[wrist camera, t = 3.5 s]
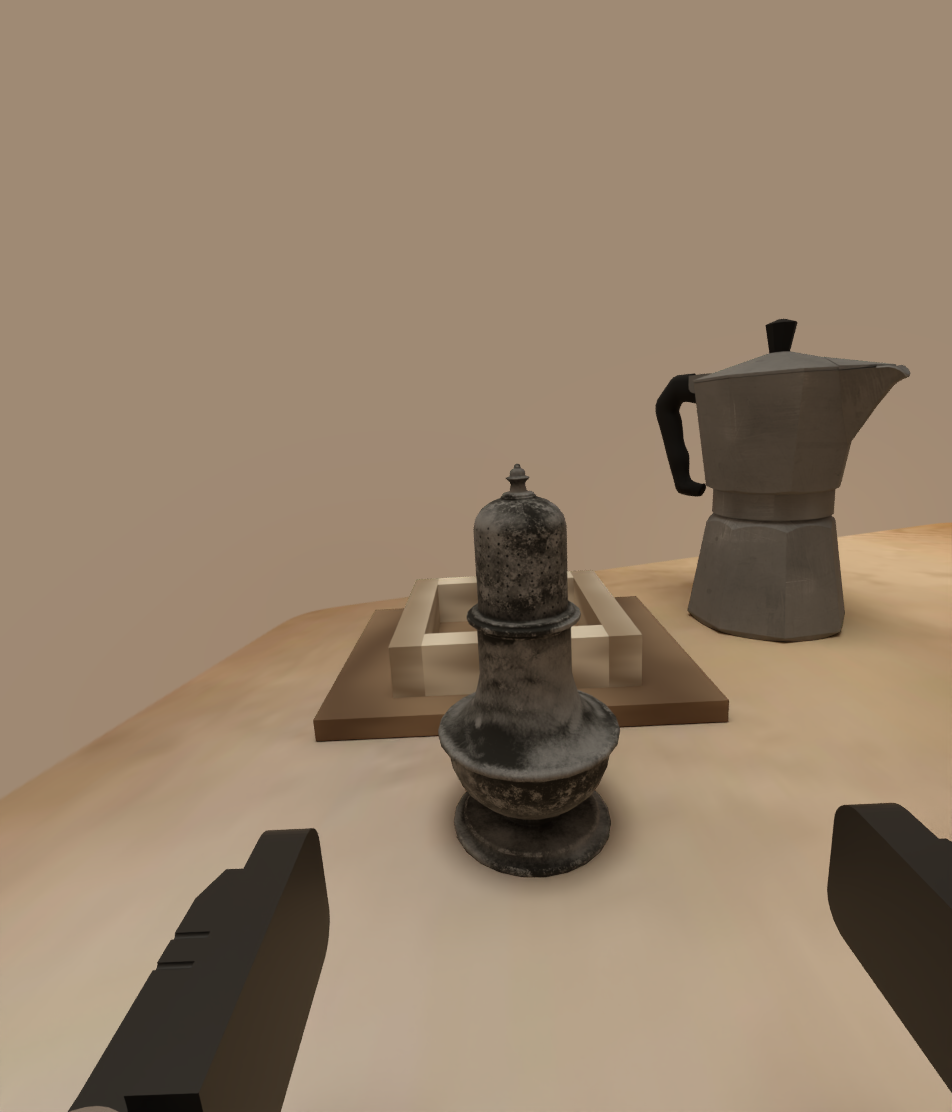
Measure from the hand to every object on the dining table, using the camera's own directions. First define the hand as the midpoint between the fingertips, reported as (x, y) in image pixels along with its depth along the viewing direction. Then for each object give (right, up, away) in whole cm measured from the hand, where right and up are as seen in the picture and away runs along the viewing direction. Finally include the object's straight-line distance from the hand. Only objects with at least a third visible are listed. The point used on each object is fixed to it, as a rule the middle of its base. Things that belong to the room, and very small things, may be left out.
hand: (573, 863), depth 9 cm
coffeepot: (+16, +1, +29) cm, 33 cm away
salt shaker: (0, -4, +11) cm, 12 cm away
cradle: (0, -1, +23) cm, 23 cm away
